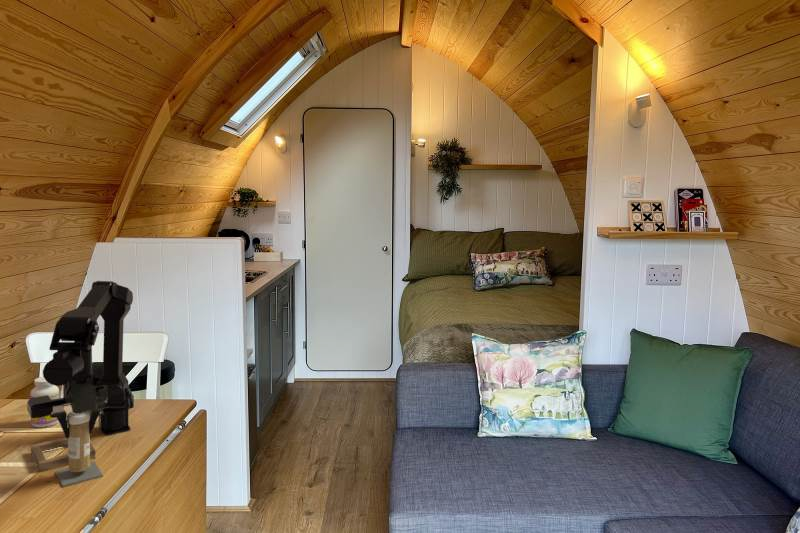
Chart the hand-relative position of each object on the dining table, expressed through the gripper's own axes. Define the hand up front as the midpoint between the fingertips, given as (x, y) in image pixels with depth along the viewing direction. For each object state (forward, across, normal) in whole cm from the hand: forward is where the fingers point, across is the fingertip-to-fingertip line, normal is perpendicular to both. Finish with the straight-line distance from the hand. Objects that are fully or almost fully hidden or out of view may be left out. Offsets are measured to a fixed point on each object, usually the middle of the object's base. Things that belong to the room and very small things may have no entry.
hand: (78, 435), depth 125 cm
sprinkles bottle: (+8, 0, 0) cm, 8 cm away
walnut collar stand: (+10, -1, +12) cm, 15 cm away
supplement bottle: (+10, -1, +35) cm, 36 cm away
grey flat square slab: (+10, 0, 0) cm, 10 cm away
